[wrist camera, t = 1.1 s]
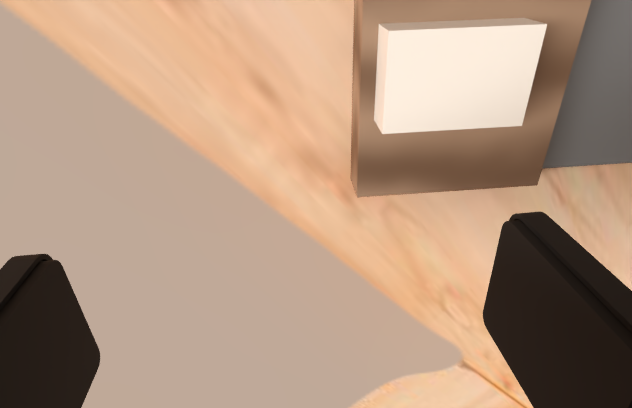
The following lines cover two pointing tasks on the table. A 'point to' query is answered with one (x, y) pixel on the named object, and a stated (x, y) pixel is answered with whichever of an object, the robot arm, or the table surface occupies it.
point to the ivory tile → (455, 74)
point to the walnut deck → (466, 144)
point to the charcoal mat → (597, 93)
